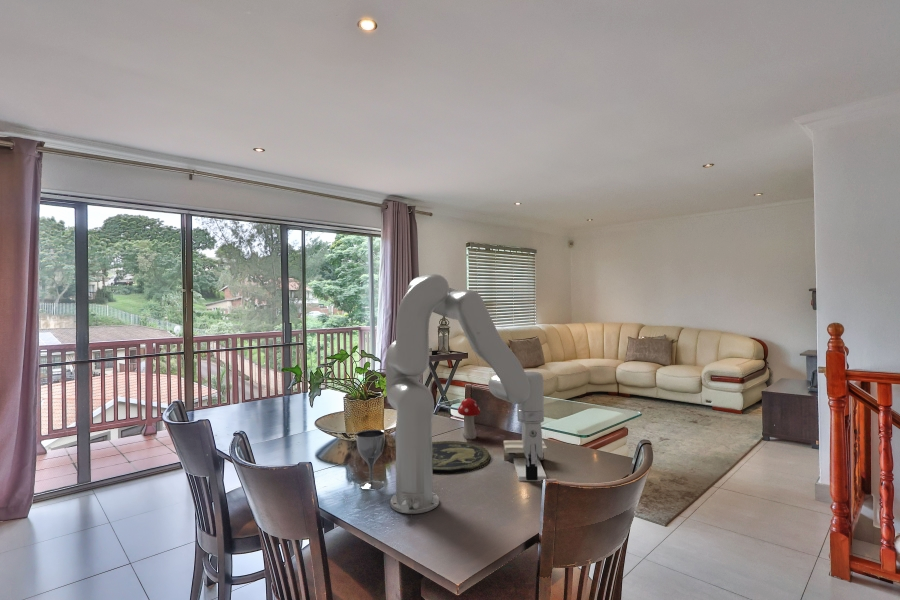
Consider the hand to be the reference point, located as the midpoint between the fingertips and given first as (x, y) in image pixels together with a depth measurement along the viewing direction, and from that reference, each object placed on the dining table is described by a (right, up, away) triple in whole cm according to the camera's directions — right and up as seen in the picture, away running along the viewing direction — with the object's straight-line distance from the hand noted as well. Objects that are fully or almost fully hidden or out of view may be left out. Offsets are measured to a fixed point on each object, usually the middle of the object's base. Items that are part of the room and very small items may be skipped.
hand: (531, 479), depth 133 cm
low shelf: (+1, -1, +17) cm, 17 cm away
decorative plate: (-25, -2, +23) cm, 34 cm away
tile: (+1, -2, +9) cm, 9 cm away
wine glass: (-46, -2, 0) cm, 46 cm away
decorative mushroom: (-16, -2, +46) cm, 49 cm away
